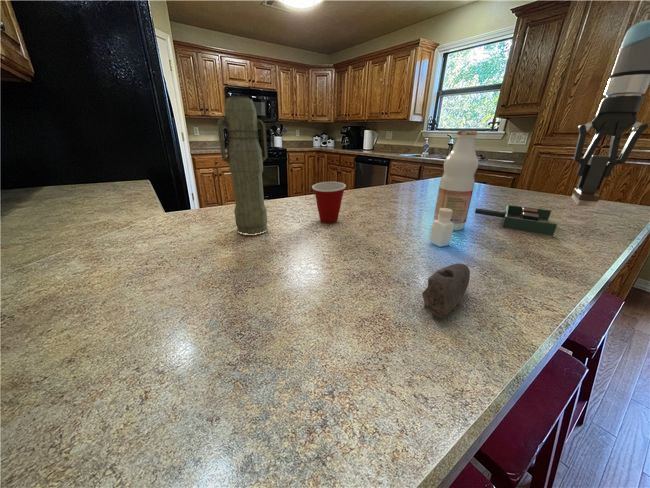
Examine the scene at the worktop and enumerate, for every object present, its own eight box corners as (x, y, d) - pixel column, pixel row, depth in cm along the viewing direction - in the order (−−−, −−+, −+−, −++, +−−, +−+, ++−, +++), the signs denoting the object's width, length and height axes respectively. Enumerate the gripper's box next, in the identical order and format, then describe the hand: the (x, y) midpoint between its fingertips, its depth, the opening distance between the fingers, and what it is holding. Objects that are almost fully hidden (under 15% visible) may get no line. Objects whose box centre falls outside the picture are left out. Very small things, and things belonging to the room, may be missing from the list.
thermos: (277, 231, 79) (269, 97, 65) (237, 239, 73) (219, 93, 59) (266, 223, 86) (256, 100, 72) (228, 230, 80) (210, 96, 66)
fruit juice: (426, 223, 87) (441, 130, 76) (447, 219, 91) (464, 130, 80) (449, 232, 80) (470, 130, 69) (471, 228, 83) (494, 131, 72)
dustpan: (547, 220, 92) (551, 210, 91) (553, 235, 78) (557, 224, 77) (477, 209, 103) (479, 200, 102) (471, 221, 89) (473, 211, 88)
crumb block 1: (533, 220, 92) (537, 209, 90) (533, 223, 89) (537, 211, 87) (519, 218, 94) (522, 207, 92) (519, 221, 91) (523, 209, 89)
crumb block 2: (534, 226, 86) (538, 214, 85) (534, 229, 83) (539, 217, 82) (519, 223, 88) (523, 212, 87) (519, 227, 85) (523, 214, 84)
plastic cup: (305, 221, 88) (304, 184, 83) (326, 214, 96) (326, 180, 91) (330, 228, 82) (331, 189, 77) (351, 220, 89) (353, 184, 85)
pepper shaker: (438, 240, 74) (445, 206, 71) (450, 245, 71) (458, 210, 67) (428, 242, 73) (434, 208, 69) (439, 247, 69) (446, 212, 66)
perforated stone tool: (448, 281, 54) (455, 249, 51) (476, 291, 51) (485, 258, 48) (411, 313, 44) (417, 277, 42) (442, 329, 41) (451, 290, 38)
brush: (587, 198, 83) (604, 154, 78) (595, 207, 74) (615, 158, 69) (570, 197, 85) (586, 154, 80) (576, 205, 76) (594, 157, 71)
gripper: (663, 95, 67) (622, 189, 76) (578, 99, 75) (551, 183, 85) (676, 92, 62) (630, 193, 71) (583, 97, 70) (553, 187, 79)
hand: (587, 188), depth 78 cm, fingers closed on brush, 3 cm apart
